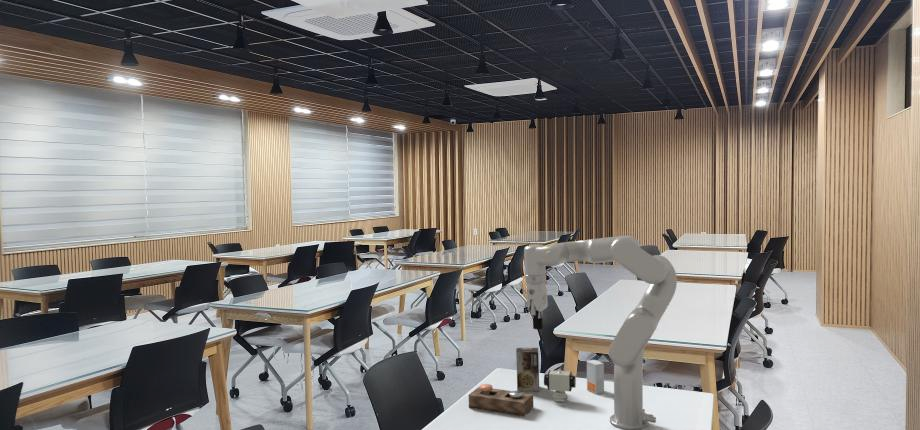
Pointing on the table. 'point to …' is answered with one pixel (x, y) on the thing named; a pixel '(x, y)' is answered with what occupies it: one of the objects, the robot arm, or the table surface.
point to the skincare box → (595, 376)
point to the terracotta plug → (486, 388)
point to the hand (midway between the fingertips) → (538, 328)
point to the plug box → (501, 402)
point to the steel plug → (515, 394)
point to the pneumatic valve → (560, 383)
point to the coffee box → (527, 369)
